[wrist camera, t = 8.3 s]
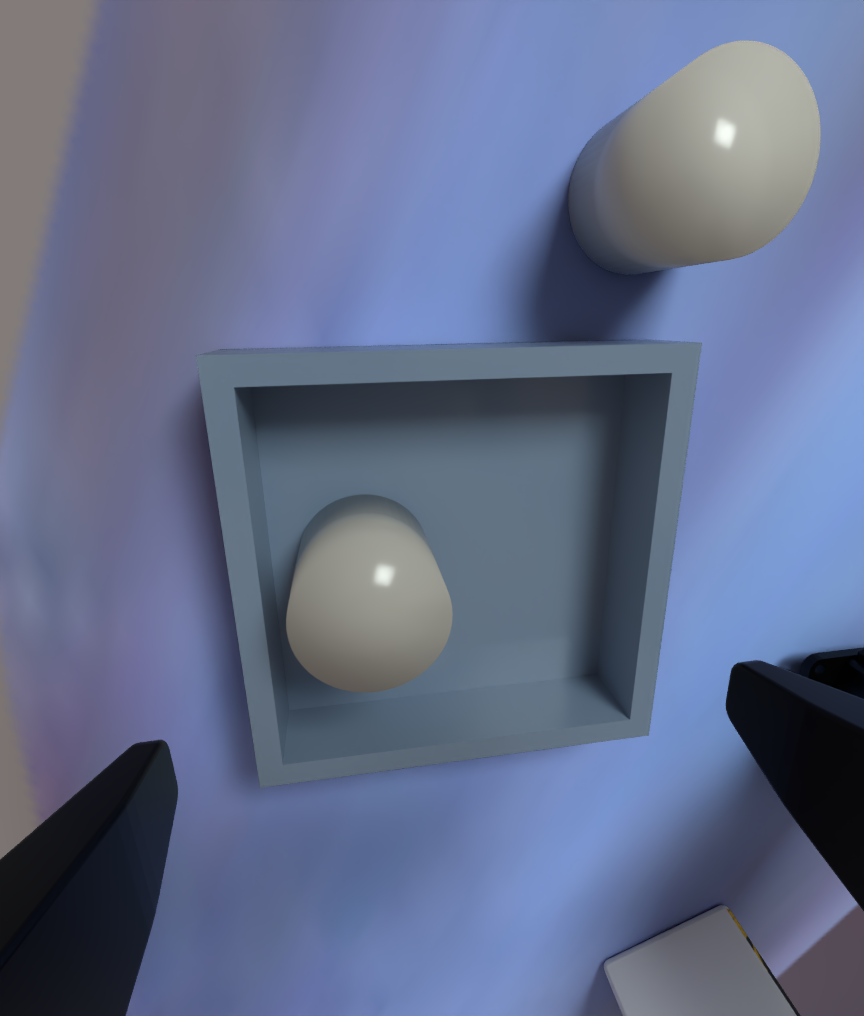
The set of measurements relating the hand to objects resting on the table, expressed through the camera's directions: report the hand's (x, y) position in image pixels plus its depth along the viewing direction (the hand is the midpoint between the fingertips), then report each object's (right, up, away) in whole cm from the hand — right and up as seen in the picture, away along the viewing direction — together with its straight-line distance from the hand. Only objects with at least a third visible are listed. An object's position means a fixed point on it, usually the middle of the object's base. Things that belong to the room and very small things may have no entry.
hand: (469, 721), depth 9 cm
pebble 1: (-3, +2, +10) cm, 11 cm away
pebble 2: (+6, +13, +8) cm, 16 cm away
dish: (0, +2, +11) cm, 11 cm away
